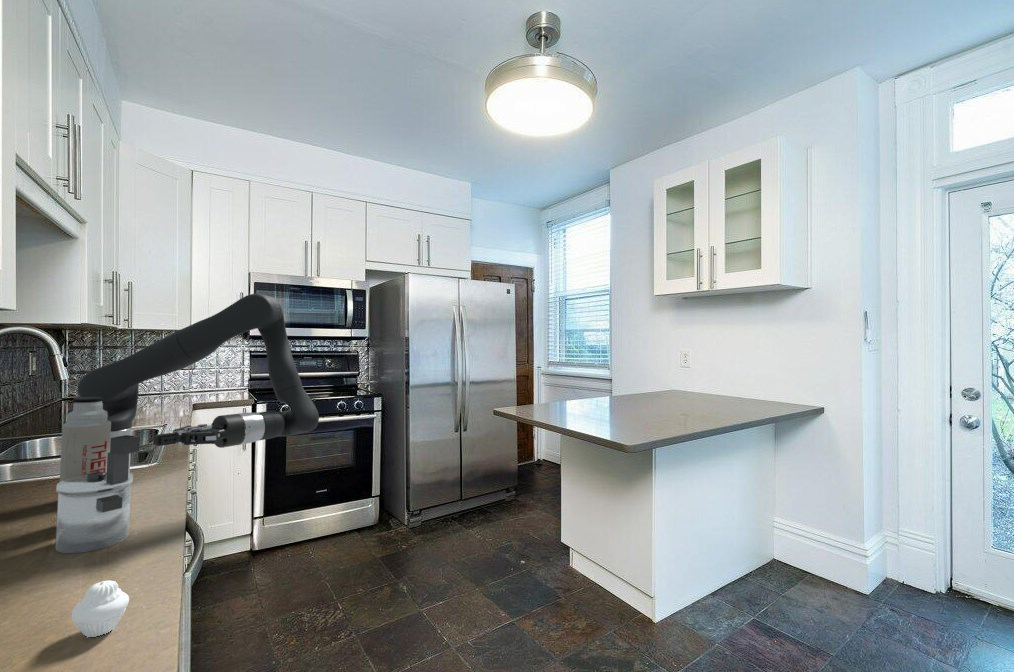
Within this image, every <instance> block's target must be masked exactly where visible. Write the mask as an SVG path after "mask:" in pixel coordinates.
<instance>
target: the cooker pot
mask: <svg viewBox="0 0 1014 672" xmlns="http://www.w3.org/2000/svg"><path fill="white" fill-rule="evenodd" d="M131 488H132V483H131V484H129V485H127V486H124V487H121V488H118V489H114V490H110V491H105V492H99V493H92V494H82V495H64V494H59V493H57V494H58V496H57V514H56V515H57V517H56V535H55V537H56V538H55V550H56V551H57V552H58V553H63V554H80V553H87V552H92V551H93V552H94V551H98V550H101V549H102V550H103V549H105V548H108V547H110V546H111V547H112V546H114V545H116V544H119V543H121V542H122V541H124V540H126V539H127V538H128V537H129V535H130V515H131V514H130V511H131V495H132V494H131V491H132V490H131Z"/></svg>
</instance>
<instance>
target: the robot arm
mask: <svg viewBox="0 0 1014 672" xmlns="http://www.w3.org/2000/svg"><path fill="white" fill-rule="evenodd" d="M256 329H257V330H258V332H259V334H260V336H261V338H262V340H263V343H264V346H265V347H264V348H265V351H266V361H267V363H266V364H267V371H268V377H269V379H270V383H271V385H272V388H273V392H274V394H275V395H274V396H276V399H277V400H278V402H280V403H284V404H286V405H287V406H288V408H289V410H284V411H275V410H268V411H259V412H240V413H232V414H224V415H223V414H222V415H218V416H216V417H215V418H214V419H213V420H212V423H211V424H209V425H208V423H202V424H201V423H200V424H198V425H195V426H192V425H190V424H189V425H185V426H182V427H179V428H175V429H173V430H172V432H167V433H161V434H160V433H159V434H158V433H157V434H155V435H153V441H152V445H154V446H157V447H163V446H169V445H175V444H176V445H184V446H191V445H192V446H193V445H215V446H216V447H217V448H219V449H221V448H228V447H236V446H240V445H246V444H251V443H255V442H258V441H263V440H271V439H274V438H279V437H280V438H283V437H290V436H296V435H301V434H305V433H309V432H312V431H314V430H315V429H316V428H317V427H318V425H319V420H320V413H319V411H318V408H317V407H316V405H315V403H314V402H313V400H312V399H311V397H310V396H309V394H308V393H307V391H306V390H305V389H304V387H303V384H302V379H301V377H300V375H299V372H298V369H297V366H296V363H295V360H294V357H293V354H292V350H291V348H290V343H289V338H288V334H287V328H286V323H285V316H284V311H283V307H282V305H281V303H280V301H279V300H278V299H277V298H275V297H273V296H270V295H267V294H263V293H250V294H248V295H247V294H246V295H245V296H243V297H241V298H240V299H238V300H236V301H235V302H233V303H231V305H229V306H227V307H226V308H224V309H222V310H220V311H218V312H217V313H215V314H213V315H211V316H209V317H206V318H204V319H202V320H199V321H196V322H195V323H193V324H190V325H188V326H186V327H183V328H181V329H178V330H177V331H175V332H172V333H170V334H168V335H167V336H165V337H163V338H161V339H159V340H157V341H155V342H153V343H151V344H149V345H147V346H146V347H143V348H142V349H140V350H137V351H136V352H134V353H133V354H131V355H129V356H126V357H125V358H122V359H119V360H117V361H114V362H111V363H109V364H106V365H103V366H100V367H97V368H95V369H93V370H90V371H88V372H87V373H85V374H84V375H83V376H82V377H81V378H80V380H79V382H78V385H77V390H76V391H77V394H78V396H79V398H80V397H103V401H102V403H103V410H105V411H107V412H108V413H107V415H108V417H107V420H109V421H111V434H110V443H111V438H113V437H119V436H124V435H130V436H132V430H133V429H132V427H133V421H134V419H135V417H136V415H137V410H138V400H139V388H140V387H139V385H140V384H141V383H143V382H145V381H148V380H151V379H155V378H157V377H158V378H159V377H161V376H162V377H163V376H164V375H168V374H171V373H174V372H176V371H179V370H183V369H184V368H187V367H189V366H191V365H193V364H196V363H197V362H199V361H202V360H204V359H205V358H207V357H209V356H210V355H212V354H213V353H214V352H215V351H216V350H217V349H219V348H220V347H221V346H222V345H224V343H226V342H228V341H229V340H231V339H233V338H235V337H237V336H239V335H242V334H245V333H247V332H250V331H253V330H256ZM131 454H132V453H129V469H128V472H129V473H131Z"/></svg>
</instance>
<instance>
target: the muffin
mask: <svg viewBox="0 0 1014 672" xmlns="http://www.w3.org/2000/svg"><path fill="white" fill-rule="evenodd" d="M129 602H130V596H129V595H128V594H127V593H126V592H124V591H122V589H121V588H120V587H119V584H118V583H117V581H115V580H103V581H100V582H96V583H94V584H93V585H90V586H89V587H88V588H87V590H86V591H85V593H84V596H83V598H81V600H80V601H79V602H78V603H77V604H76V605H75V606H74V608H73V609H72V611H71V619H72V620H73V621H74V622H73V623H74V626H76V627H77V629H78V630H79V631H80V632H81V633H82V635H83V636H84V635H85V636H87V637H86V638H88V637H95V636H99V635H103V634H105V635H107V634H106V633H108V632H109V633H111V632H112V631H113V630H114V629H115V628H116V627H117V626H118V623H119V622H120V620H121V618H122V617H123V615H124V613H125V611H126V610H127V606H128V605H129V604H130V603H129ZM111 630H112V631H111ZM110 631H111V632H110ZM109 633H108V634H109ZM85 636H84V637H85ZM103 636H104V635H103Z"/></svg>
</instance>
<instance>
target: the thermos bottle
mask: <svg viewBox="0 0 1014 672" xmlns="http://www.w3.org/2000/svg"><path fill="white" fill-rule="evenodd" d="M102 401H103V397H80V396H79V397H75V398H73V399H72V403H74V404H73V406H72V411H70V412H68V413H67V414H66V422H65V423H63V424H62V427H61V447H60V448H61V450H60V464H59V465H60V468H59V469H60V470H59V482H61V481H63V480H66V479H69V478H73V477H77V476H81V475H87V474H89V473H94V472H107V455H108V453H109V452H110V434H111V421H109V420H107V417H108V415H107V413H108V412H107V411H105V410H103V403H102Z"/></svg>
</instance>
